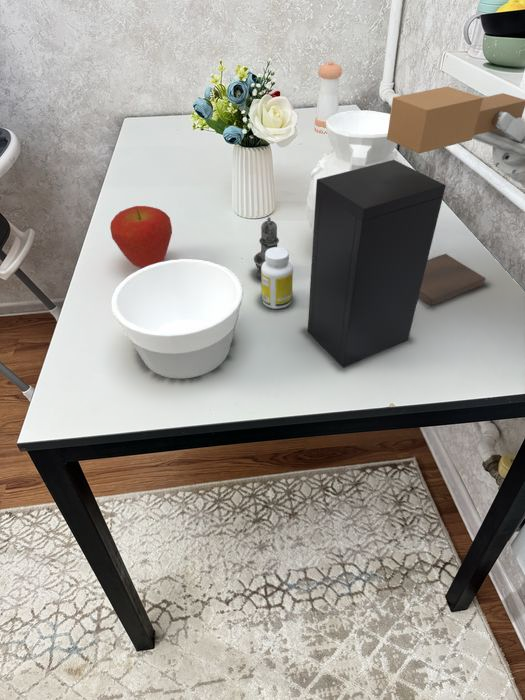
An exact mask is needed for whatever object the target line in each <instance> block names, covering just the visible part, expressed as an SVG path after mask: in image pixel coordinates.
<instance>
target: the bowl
mask: <svg viewBox="0 0 525 700" xmlns="http://www.w3.org/2000/svg"><path fill="white" fill-rule="evenodd" d="M243 298H244V289H243V284H242V283H241V281H240V279H239V277H238V276H237V275H236V274H235V273H234V272H233V271H231V270H230V269H228V268H227V267H225V266H223V265H221V264H219V263H215V262H212V261H208V260H203V259H193V258H180V259H169V260H163V261H162V262H159V263H156V264H152V265H149V266H147V267H144V268H140V269H138V270H136V271H134V272H132V273H131V274H129V275H128V276H127V277H126V278H124V279H123V280H122V281H121V282H119V284H118V285H117V287H116V288H115V290H114V292H113V294H112V297H111V301H110V307H111V312H112V314H113V317H114V318H115V319H116V321H117V323H118V324H119V326H120V328H121V329H122V331H123V332H124V334H125V335H126V337H127V338H128V339H129V341H130V343H131V344H132V345H133V347H134V349H135V350H136V352H137V353H138V355H139V357H140V358H141V360H142V361H143V363H144V364H145V366H146V367H147V368H148V369H149V370H150V371H152V372H153V373H155V374H156V375H159V376H162V377H165V378H170V379H178V380H179V379H181V380H183V379H192V378H197V377H201V376H203V375H206V374H208V373H210V372H212V371H214V370H215V369H217V368H218V367H219V366H221V365H222V364H223V362H224V361H225V360H226V359H227V357H228V355H229V353H230V349H231V345H232V341H233V339H234V338H233V337H234V334H235V329H236V326H237V321H238V318H239V314H240V310H241V306H242V303H243Z"/></svg>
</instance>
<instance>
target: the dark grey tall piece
mask: <svg viewBox="0 0 525 700" xmlns="http://www.w3.org/2000/svg"><path fill="white" fill-rule="evenodd" d="M277 225H278V224H277V223H276V222H275V221H274V220H272V219H271V217H270V216H268V217H267V218H266V220H265V221H264V222H262V223H261V226H260V234H261V235H260V238H259V240H258V241H259V244H260V251H259V252H257V253H256V254H255V255H254V256H253V262H254V264H255V266H256V268H257V271H256V272H255V278H256V279H257V280H258V281H261V282H262V279H261V267H262V264H263V263H264V262H265V252H266V251H267V250H268V249H270V248H273V247H278V243H280V239H279V237H278V226H277Z"/></svg>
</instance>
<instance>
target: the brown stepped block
mask: <svg viewBox="0 0 525 700" xmlns="http://www.w3.org/2000/svg"><path fill="white" fill-rule="evenodd" d="M390 108H391V109H390V113H389V114H390V121H389V128H388V135H387V139H388V140H390V141H392V142H394V143H396V144H397V145H399V146H401V147H402V148H405V149H407V150H409V151H412V152H414V153H416V154H423V153H428V152H432V151H435V150H439V149H442V148H446V147H450V146H454V145H458V144H463V143H465V142H469V141H470V142H471V141H472V140H474V139H473V136H474V135H478V134H482V133H486V132H490V131H494V130H498V128H496V127H495V126H494V125H492V124H491V121H492V119H493V117H495V114H496V113H497V111H503V112H506V113H509V114H510V115H511V116H513V117H514V118H516V119H517V118H518V117H520V118H522V116H523V115H524V111H525V98H521V97H517V96H514V95H510V94H507V93H503V92H502V93H497V94H494V95H493V94H492V95H488V96H484V97H482V96H480V95H476V94H473V93H469V92H467V91H463V90H460V89H456V88H454V87H450V86H443V87H438V88H431V89H428V90H423V91H422V90H421V91H417V92H413V93H408V94H403V95H398V96H393V97H392V102H391V107H390Z"/></svg>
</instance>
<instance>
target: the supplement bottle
mask: <svg viewBox="0 0 525 700" xmlns="http://www.w3.org/2000/svg"><path fill="white" fill-rule="evenodd" d="M293 274H294V267H293V264H292V263H291V262H290V252H289V250H288V249H287V248H284V247H281V246H277V247H273V248H270V249H268V250H267V251H266V252H265V262H264V263H263V264H262V267H261V279H262V281H261V302H262V303H263V305H264V306H265V307H267V308H270V309H274V310H280V309H284V308H288V306H290V304H291V303H292V300H293V276H294V275H293Z"/></svg>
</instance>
